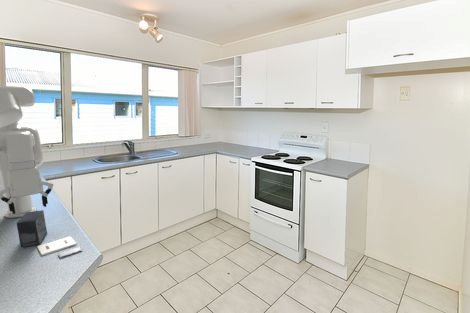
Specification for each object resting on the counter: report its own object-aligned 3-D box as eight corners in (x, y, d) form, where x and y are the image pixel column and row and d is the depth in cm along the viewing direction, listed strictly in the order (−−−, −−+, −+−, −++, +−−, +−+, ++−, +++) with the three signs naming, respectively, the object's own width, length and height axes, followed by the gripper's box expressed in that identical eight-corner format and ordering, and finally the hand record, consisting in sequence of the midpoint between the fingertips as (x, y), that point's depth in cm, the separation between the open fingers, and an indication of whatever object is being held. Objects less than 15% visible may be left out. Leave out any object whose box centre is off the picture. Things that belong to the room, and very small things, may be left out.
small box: (29, 236, 112) (25, 211, 110) (47, 233, 114) (44, 209, 112) (19, 248, 102) (15, 222, 100) (40, 245, 104) (36, 219, 102)
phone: (57, 256, 98) (57, 253, 98) (79, 249, 103) (79, 246, 102) (60, 260, 95) (60, 257, 95) (82, 252, 100) (82, 249, 100)
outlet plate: (37, 247, 103) (37, 245, 103) (70, 237, 110) (70, 236, 110) (41, 255, 97) (41, 254, 97) (76, 244, 105) (76, 243, 105)
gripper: (48, 161, 111) (53, 201, 114) (-9, 168, 99) (-1, 213, 102) (52, 163, 106) (58, 205, 108) (-8, 171, 94) (1, 218, 97)
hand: (29, 209), depth 105 cm, fingers open, 9 cm apart
